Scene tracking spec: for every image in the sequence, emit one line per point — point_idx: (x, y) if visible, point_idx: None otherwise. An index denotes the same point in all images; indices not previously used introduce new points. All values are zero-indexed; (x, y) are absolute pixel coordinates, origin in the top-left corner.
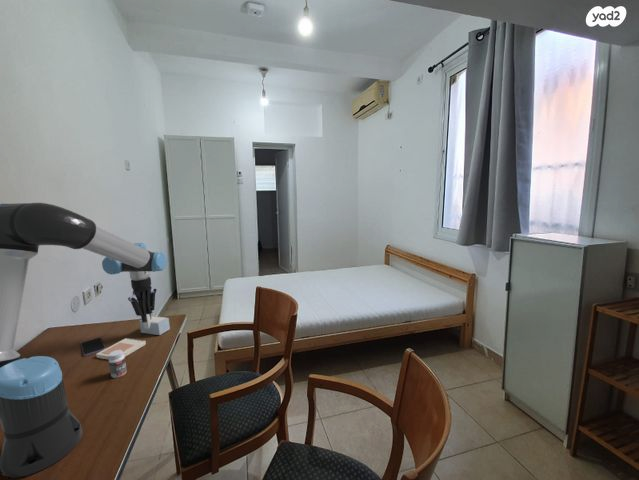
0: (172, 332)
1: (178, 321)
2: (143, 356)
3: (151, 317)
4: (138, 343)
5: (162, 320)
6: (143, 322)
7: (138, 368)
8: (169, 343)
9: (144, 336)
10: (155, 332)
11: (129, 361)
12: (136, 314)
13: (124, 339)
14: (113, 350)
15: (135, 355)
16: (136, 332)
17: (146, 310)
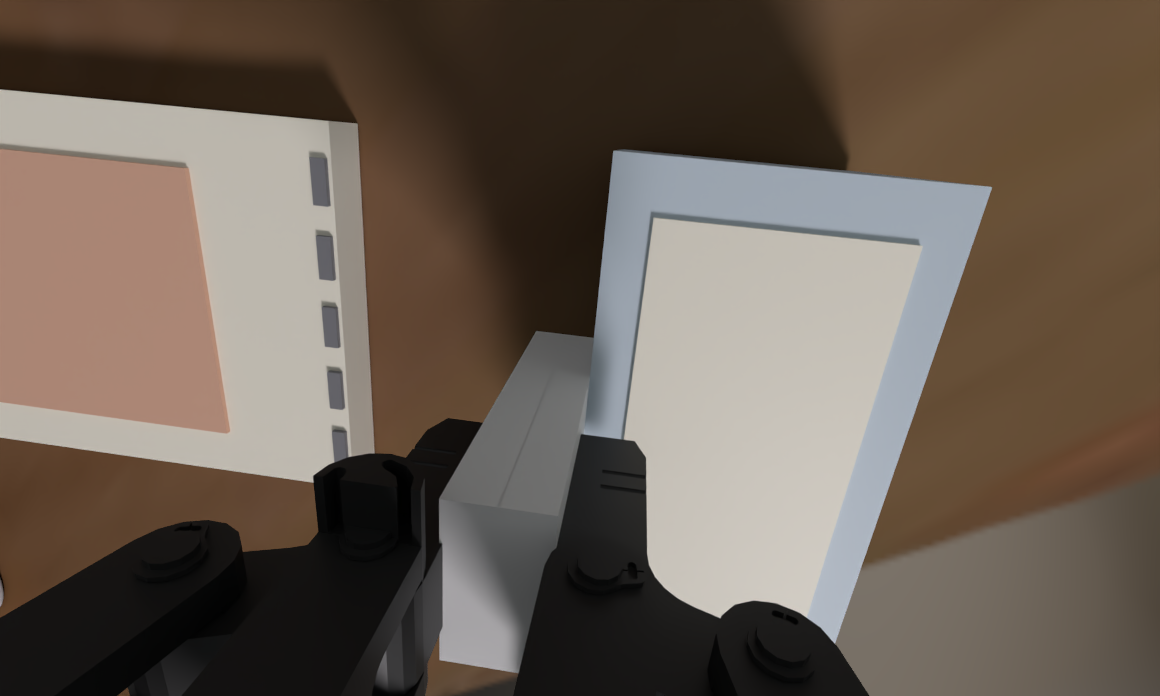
0: None
1: (1063, 479)
2: None
3: (839, 333)
4: (279, 447)
5: None
6: (509, 380)
7: None
8: (455, 676)
9: (537, 294)
10: None
11: (91, 527)
12: (106, 573)
13: (286, 138)
14: (27, 268)
15: (177, 510)
16: (641, 24)
17: (580, 648)
